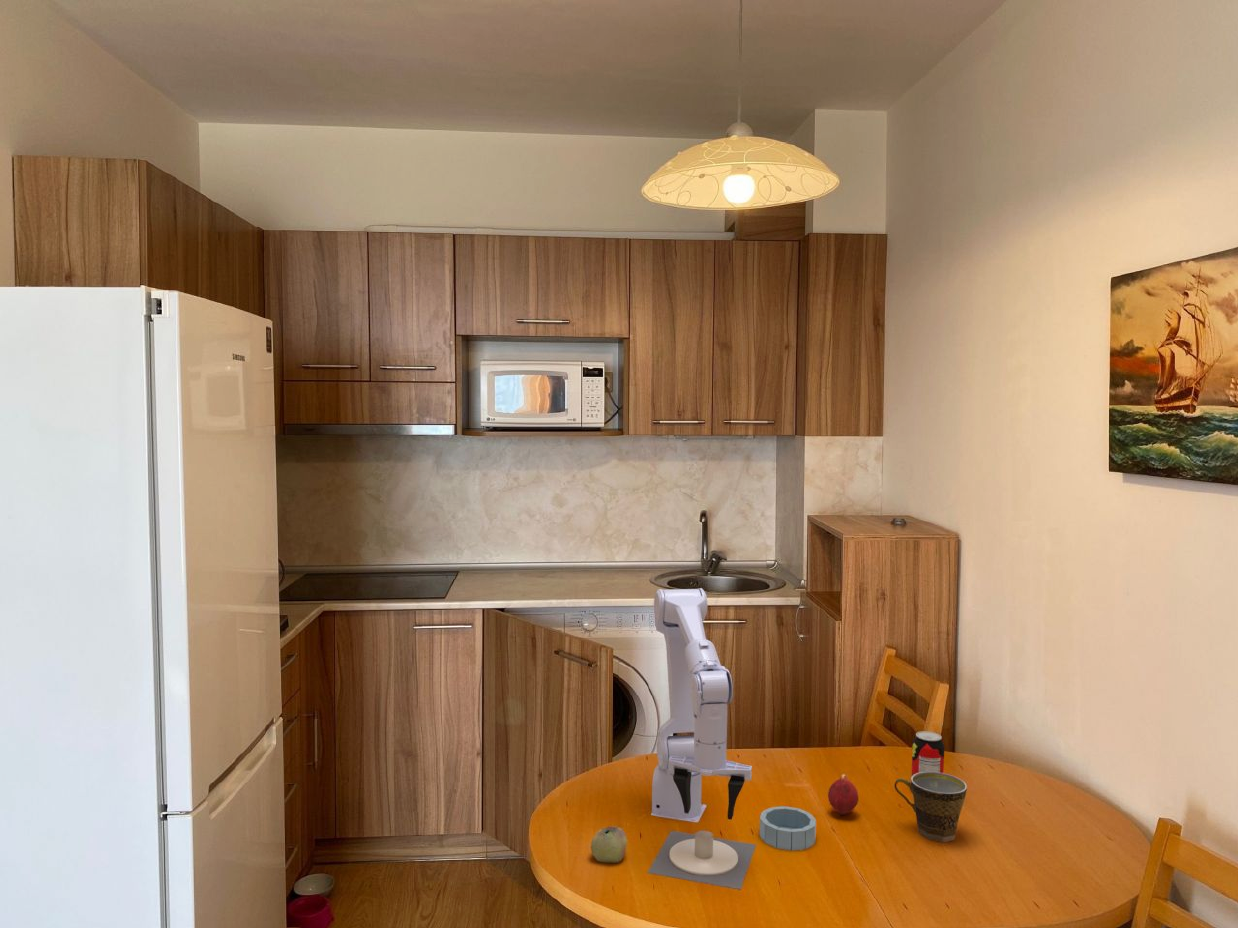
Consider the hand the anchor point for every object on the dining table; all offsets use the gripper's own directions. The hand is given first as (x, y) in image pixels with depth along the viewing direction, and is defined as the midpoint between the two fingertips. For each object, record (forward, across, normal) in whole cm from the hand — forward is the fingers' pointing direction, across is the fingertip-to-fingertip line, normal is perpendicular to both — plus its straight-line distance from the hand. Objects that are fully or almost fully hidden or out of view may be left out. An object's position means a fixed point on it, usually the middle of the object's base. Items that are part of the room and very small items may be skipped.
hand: (708, 813), depth 158 cm
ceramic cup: (+9, +38, +23) cm, 45 cm away
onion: (+9, +22, +26) cm, 35 cm away
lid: (+8, -1, 0) cm, 8 cm away
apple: (+9, -16, -5) cm, 19 cm away
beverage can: (+9, +39, +42) cm, 58 cm away
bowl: (+8, +13, +12) cm, 19 cm away
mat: (+8, -1, 0) cm, 9 cm away
